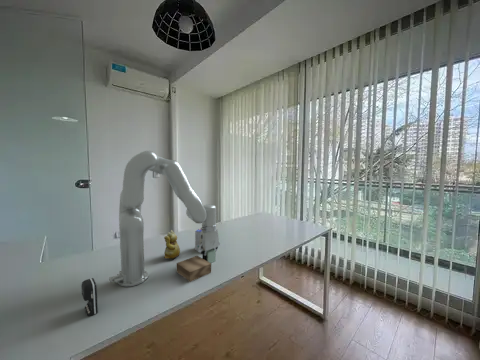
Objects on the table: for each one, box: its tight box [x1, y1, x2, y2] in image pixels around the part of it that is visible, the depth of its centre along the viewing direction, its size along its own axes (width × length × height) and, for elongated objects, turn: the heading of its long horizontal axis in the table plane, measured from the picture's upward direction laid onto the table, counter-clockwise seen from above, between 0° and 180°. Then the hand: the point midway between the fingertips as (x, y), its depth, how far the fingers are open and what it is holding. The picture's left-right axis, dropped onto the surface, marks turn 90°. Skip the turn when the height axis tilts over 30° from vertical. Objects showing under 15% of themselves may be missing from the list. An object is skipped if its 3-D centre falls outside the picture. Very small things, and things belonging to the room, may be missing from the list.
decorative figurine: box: [163, 229, 181, 261], centre depth 122 cm, size 10×8×15 cm
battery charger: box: [80, 277, 99, 317], centre depth 78 cm, size 7×4×11 cm, turn 44°
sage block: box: [204, 249, 217, 264], centre depth 118 cm, size 5×5×6 cm
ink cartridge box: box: [194, 228, 202, 251], centre depth 132 cm, size 10×6×14 cm, turn 78°
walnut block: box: [176, 255, 212, 283], centre depth 106 cm, size 12×12×5 cm
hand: (209, 259), depth 118 cm, fingers closed on sage block, 4 cm apart
